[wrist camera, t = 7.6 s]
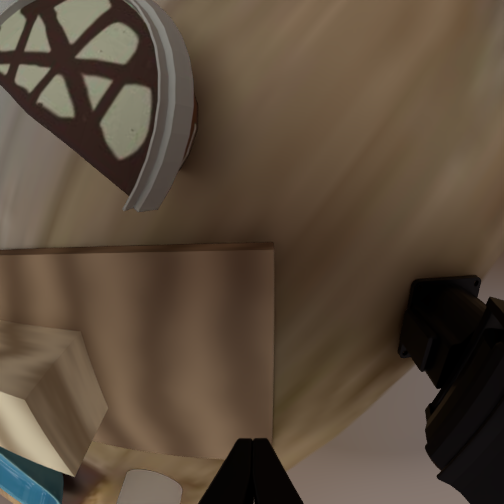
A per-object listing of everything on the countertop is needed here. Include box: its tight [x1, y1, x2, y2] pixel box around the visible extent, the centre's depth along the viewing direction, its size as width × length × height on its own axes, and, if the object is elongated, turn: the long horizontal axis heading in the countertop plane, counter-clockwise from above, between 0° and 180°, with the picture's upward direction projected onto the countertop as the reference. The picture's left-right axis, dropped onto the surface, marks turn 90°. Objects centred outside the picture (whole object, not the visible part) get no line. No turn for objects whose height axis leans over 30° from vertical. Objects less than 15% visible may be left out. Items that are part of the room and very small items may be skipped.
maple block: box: [0, 320, 108, 477], centre depth 18 cm, size 12×8×8 cm, turn 91°
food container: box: [0, 0, 198, 212], centre depth 12 cm, size 12×6×10 cm, turn 50°
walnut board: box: [0, 242, 274, 459], centre depth 22 cm, size 29×20×2 cm
